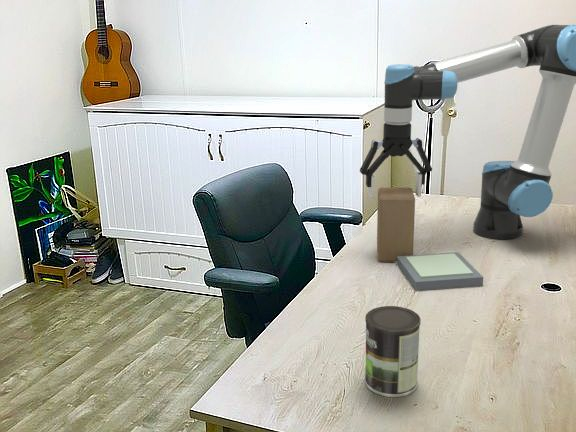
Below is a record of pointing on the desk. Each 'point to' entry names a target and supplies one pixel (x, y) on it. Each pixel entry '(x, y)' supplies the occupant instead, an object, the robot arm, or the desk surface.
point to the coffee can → (392, 350)
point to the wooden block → (395, 223)
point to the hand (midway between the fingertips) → (394, 196)
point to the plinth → (439, 271)
